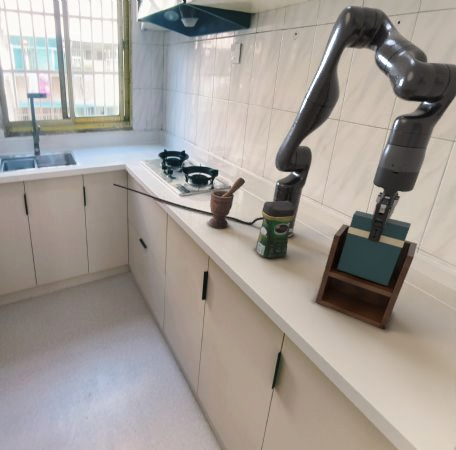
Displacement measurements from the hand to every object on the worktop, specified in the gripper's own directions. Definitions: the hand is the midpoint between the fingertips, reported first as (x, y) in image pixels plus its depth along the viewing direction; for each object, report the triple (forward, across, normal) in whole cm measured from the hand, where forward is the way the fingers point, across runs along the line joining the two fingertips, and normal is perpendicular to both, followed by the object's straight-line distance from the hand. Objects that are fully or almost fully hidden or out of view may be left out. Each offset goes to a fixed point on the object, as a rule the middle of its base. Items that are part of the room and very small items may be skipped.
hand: (374, 237), depth 79 cm
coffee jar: (+21, -15, -28) cm, 38 cm away
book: (+10, 0, 0) cm, 10 cm away
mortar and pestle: (+21, -25, -52) cm, 61 cm away
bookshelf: (+21, -1, 0) cm, 21 cm away
